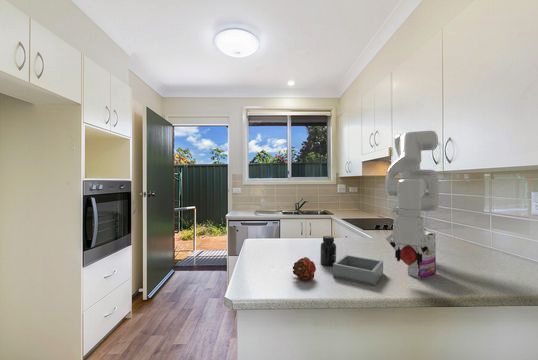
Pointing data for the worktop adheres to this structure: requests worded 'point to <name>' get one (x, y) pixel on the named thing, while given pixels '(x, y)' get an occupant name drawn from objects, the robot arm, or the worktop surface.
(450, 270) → the worktop surface
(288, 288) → the worktop surface
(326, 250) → the supplement bottle
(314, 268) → the dragon fruit
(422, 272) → the candy bar box
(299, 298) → the worktop surface
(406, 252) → the pomegranate
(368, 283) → the bin
